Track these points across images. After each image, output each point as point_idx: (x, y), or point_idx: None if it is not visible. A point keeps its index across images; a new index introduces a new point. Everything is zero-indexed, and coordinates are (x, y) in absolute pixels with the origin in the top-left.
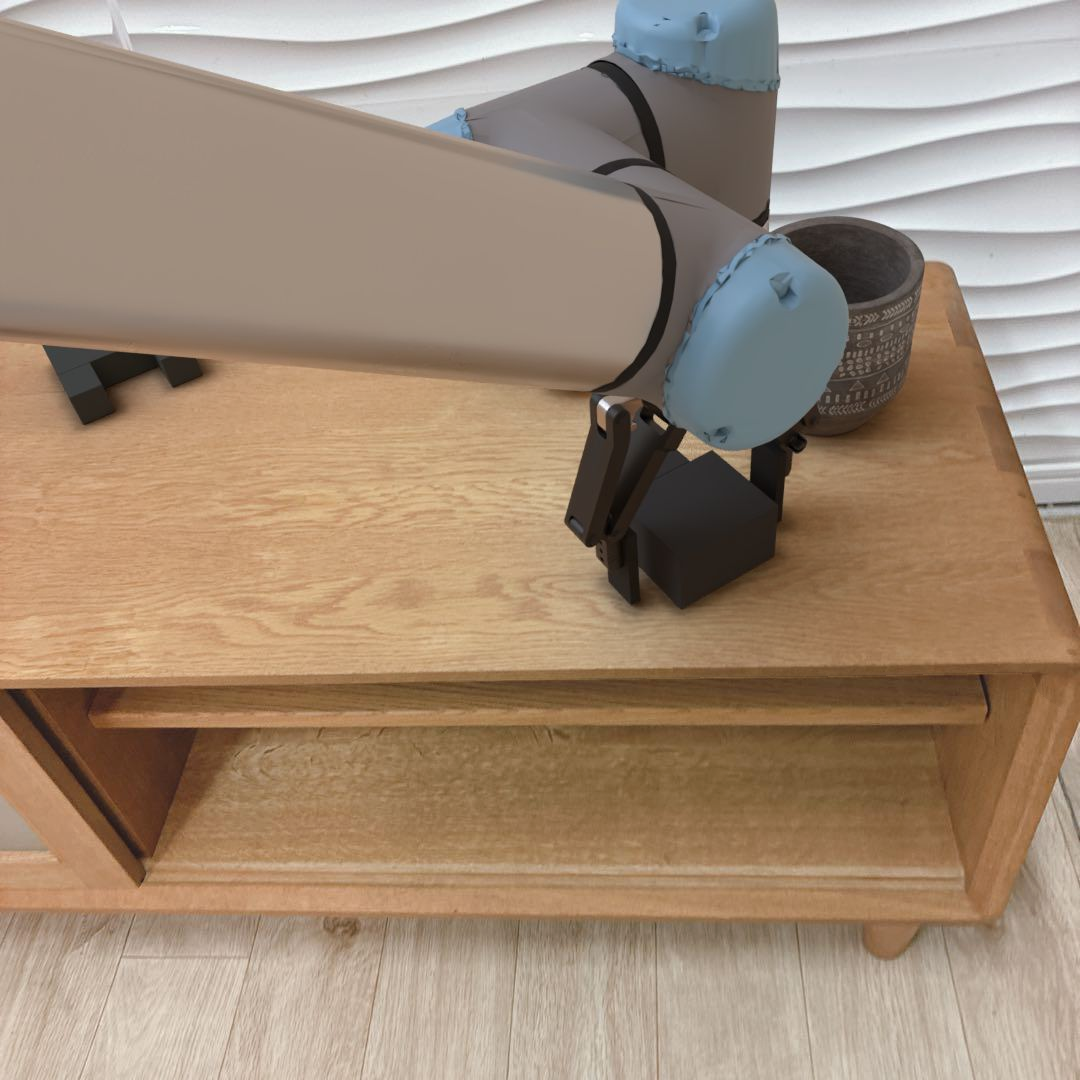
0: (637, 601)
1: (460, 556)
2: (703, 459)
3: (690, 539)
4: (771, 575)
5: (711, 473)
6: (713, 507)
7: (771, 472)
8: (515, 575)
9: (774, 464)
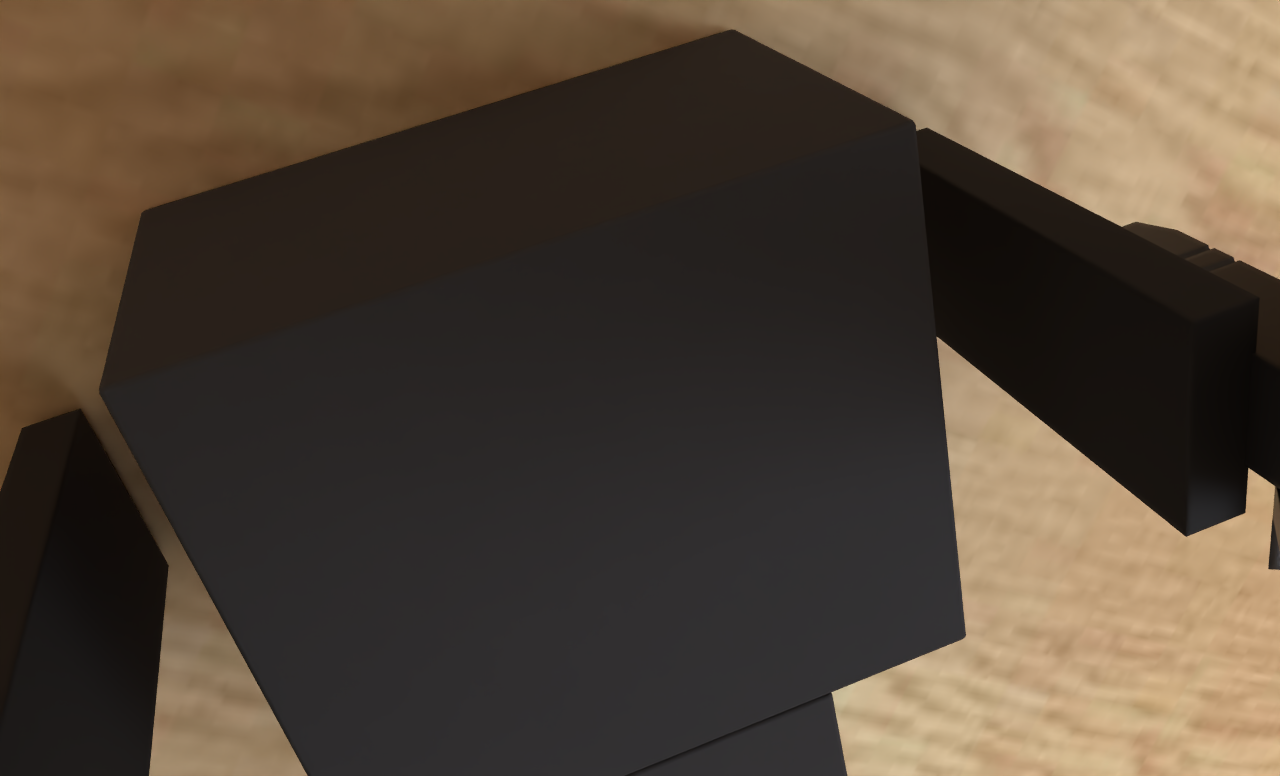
0: None
1: None
2: None
3: (789, 262)
4: (202, 89)
5: (443, 723)
6: (543, 475)
7: (49, 678)
8: None
9: (22, 726)
